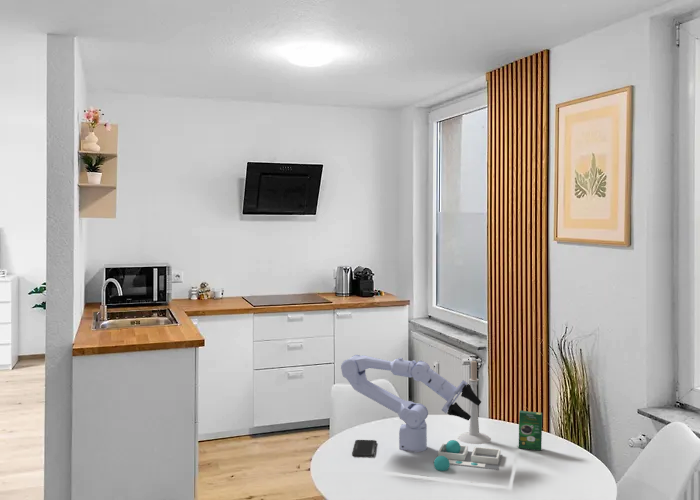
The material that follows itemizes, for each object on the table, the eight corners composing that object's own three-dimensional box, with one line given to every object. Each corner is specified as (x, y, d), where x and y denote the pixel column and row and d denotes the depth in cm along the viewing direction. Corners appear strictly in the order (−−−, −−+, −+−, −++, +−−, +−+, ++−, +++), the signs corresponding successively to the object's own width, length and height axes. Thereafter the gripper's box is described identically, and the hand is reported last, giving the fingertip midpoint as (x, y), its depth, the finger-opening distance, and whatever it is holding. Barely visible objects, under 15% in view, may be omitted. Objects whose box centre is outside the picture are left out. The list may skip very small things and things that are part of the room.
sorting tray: (433, 465, 207) (433, 456, 207) (441, 451, 220) (441, 442, 220) (498, 473, 200) (498, 463, 200) (502, 457, 213) (502, 449, 213)
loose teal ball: (432, 473, 200) (432, 458, 200) (435, 467, 205) (435, 452, 205) (448, 475, 199) (448, 459, 199) (450, 469, 203) (450, 454, 203)
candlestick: (496, 439, 232) (496, 358, 231) (484, 449, 221) (484, 365, 220) (464, 433, 239) (464, 355, 238) (451, 443, 228) (450, 361, 227)
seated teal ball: (444, 456, 212) (444, 442, 212) (447, 451, 217) (447, 437, 217) (459, 458, 210) (459, 443, 210) (461, 453, 215) (461, 438, 215)
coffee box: (542, 448, 222) (542, 411, 221) (542, 451, 219) (542, 414, 219) (518, 446, 224) (518, 409, 224) (518, 448, 222) (518, 412, 221)
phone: (376, 440, 230) (374, 454, 215) (376, 443, 230) (374, 458, 215) (355, 439, 231) (351, 454, 216) (355, 442, 231) (351, 457, 216)
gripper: (435, 394, 209) (469, 419, 205) (455, 367, 218) (488, 391, 215) (428, 404, 214) (462, 429, 210) (449, 378, 223) (481, 401, 220)
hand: (475, 411), depth 213 cm, fingers open, 7 cm apart
